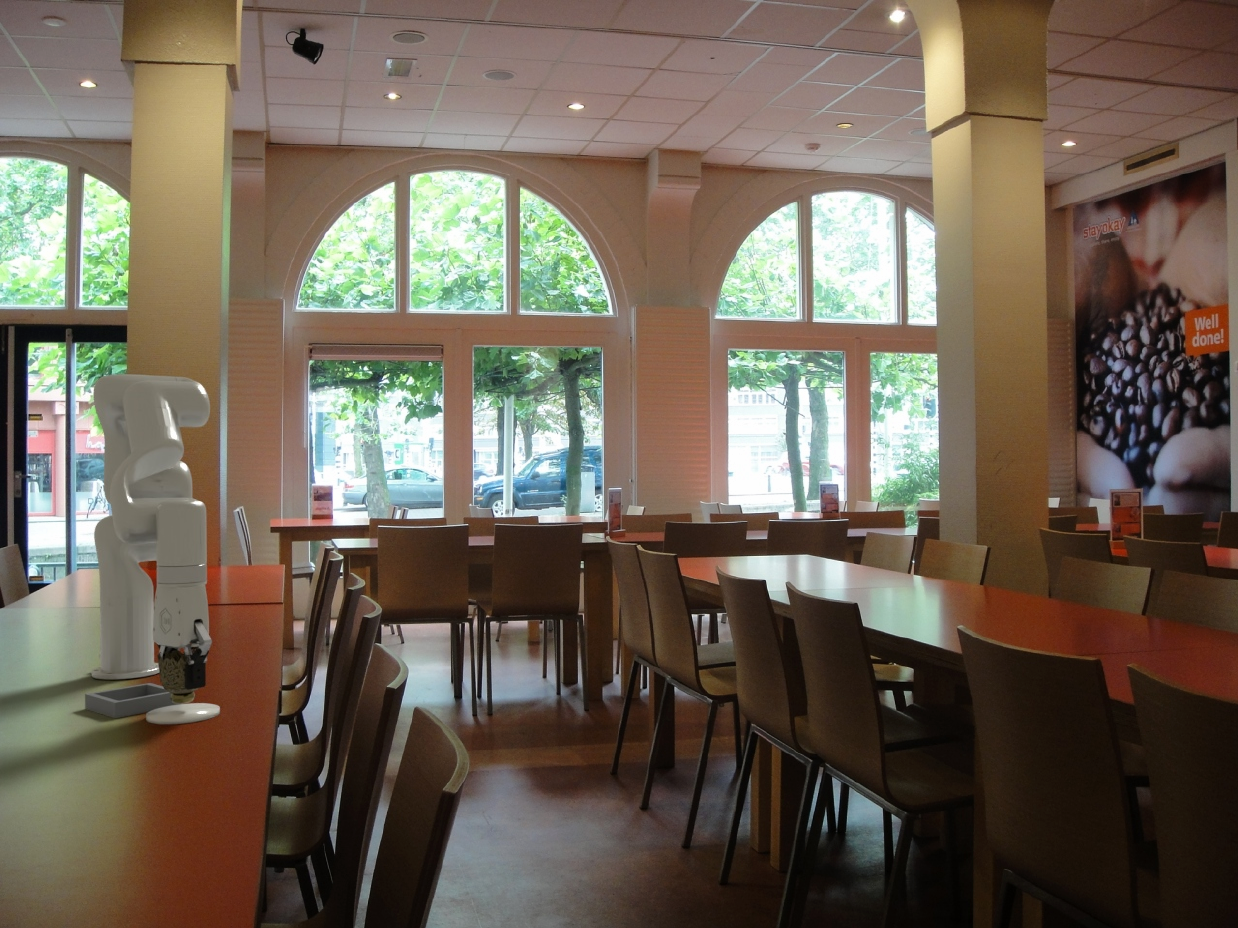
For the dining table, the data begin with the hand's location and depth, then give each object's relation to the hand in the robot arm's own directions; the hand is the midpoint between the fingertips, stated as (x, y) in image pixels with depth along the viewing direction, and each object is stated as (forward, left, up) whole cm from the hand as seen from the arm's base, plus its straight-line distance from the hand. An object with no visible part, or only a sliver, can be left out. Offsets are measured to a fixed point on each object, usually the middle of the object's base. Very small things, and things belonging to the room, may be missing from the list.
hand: (182, 684), depth 165 cm
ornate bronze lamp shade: (0, 0, -3) cm, 3 cm away
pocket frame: (-13, -2, -5) cm, 14 cm away
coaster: (0, 0, -5) cm, 5 cm away
